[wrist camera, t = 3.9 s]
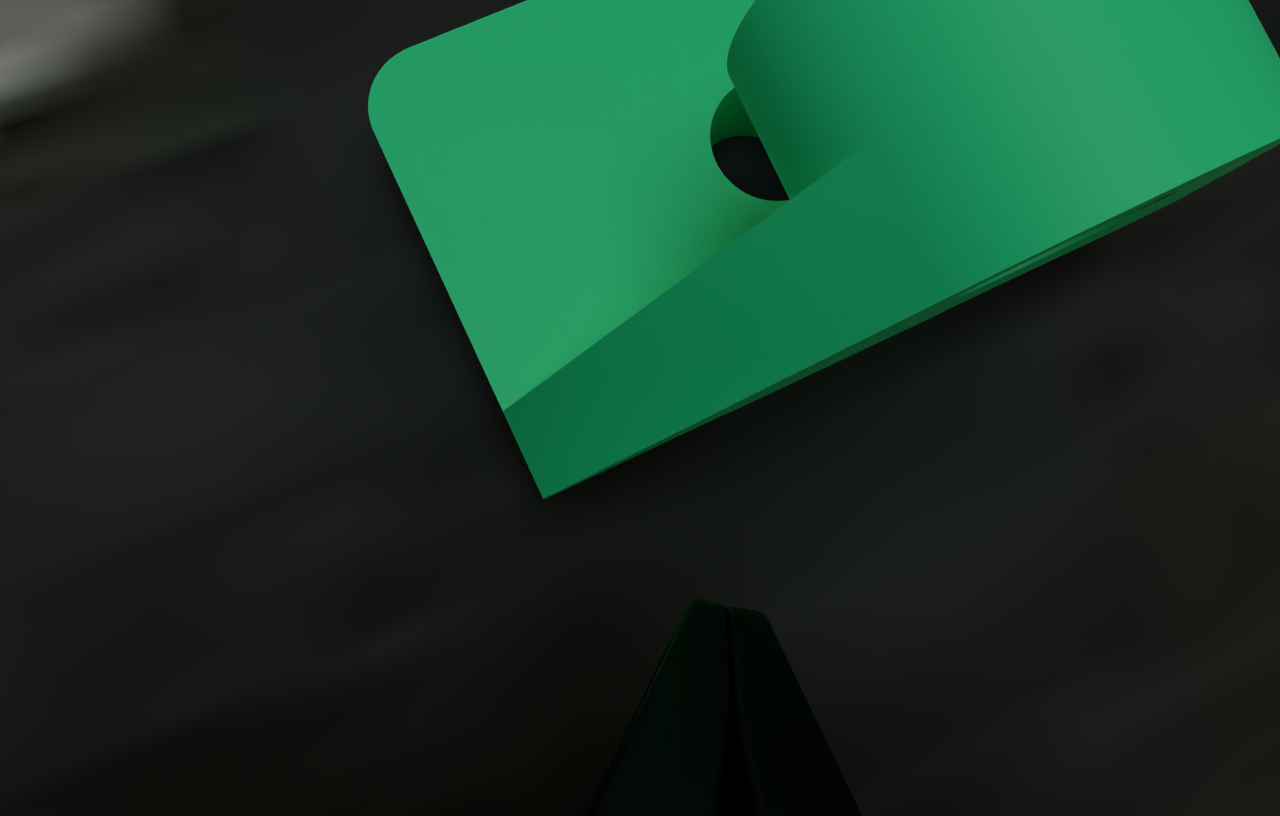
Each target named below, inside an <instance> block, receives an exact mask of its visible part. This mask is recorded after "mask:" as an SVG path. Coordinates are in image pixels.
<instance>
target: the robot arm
mask: <svg viewBox="0 0 1280 816" xmlns="http://www.w3.org/2000/svg"><path fill="white" fill-rule="evenodd" d="M586 816H862V815H861V813H860V811H859V809H858V807H857V804H856V802H855V800H854V798H853V796H852V794H851V792H850V790H849V788H848V786H847V784H846V781H845V779H844V777H843V775H842V773H841V771H840V769H839V767H838V765H837V763H836V761H835V758H834V756H833V754H832V752H831V750H830V748H829V746H828V744H827V742H826V740H825V738H824V736H823V733H822V731H821V729H820V727H819V725H818V723H817V721H816V719H815V717H814V715H813V713H812V710H811V708H810V706H809V704H808V702H807V700H806V698H805V696H804V694H803V692H802V690H801V687H800V685H799V683H798V681H797V679H796V677H795V675H794V673H793V671H792V669H791V667H790V665H789V662H788V660H787V658H786V656H785V654H784V652H783V650H782V648H781V646H780V644H779V642H778V639H777V637H776V635H775V633H774V631H773V629H772V627H771V625H770V623H769V621H768V619H767V617H766V616H765V615H764V614H762V613H760V612H758V611H753V610H748V609H743V608H738V607H729V608H728V609H727V610H726V608H725V607H724V606H723V605H722V604H719V603H714V602H709V601H705V600H700V599H691V600H690V601H689V602H688V604H687V606H686V608H685V610H684V612H683V614H682V616H681V618H680V620H679V622H678V624H677V627H676V629H675V631H674V633H673V635H672V637H671V639H670V641H669V643H668V645H667V647H666V650H665V652H664V654H663V656H662V658H661V660H660V662H659V664H658V666H657V668H656V670H655V673H654V675H653V677H652V679H651V681H650V683H649V685H648V687H647V689H646V691H645V693H644V696H643V698H642V700H641V702H640V704H639V706H638V708H637V710H636V712H635V714H634V716H633V719H632V721H631V723H630V725H629V727H628V729H627V731H626V733H625V735H624V737H623V739H622V742H621V744H620V746H619V748H618V750H617V752H616V754H615V756H614V758H613V760H612V762H611V765H610V767H609V769H608V771H607V773H606V775H605V777H604V779H603V781H602V783H601V785H600V788H599V790H598V792H597V794H596V796H595V798H594V800H593V802H592V804H591V806H590V808H589V811H588V813H587V815H586Z"/></svg>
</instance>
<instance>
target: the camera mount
mask: <svg viewBox="0 0 1280 816" xmlns="http://www.w3.org/2000/svg"><path fill="white" fill-rule="evenodd" d="M368 111H369V118H370V122H371V126H372V128H373V131H374V133H375V135H376V138H377V140H378V142H379V144H380V146H381V148H382V151H383V153H384V155H385V157H386V159H387V161H388V164H389V166H390V168H391V170H392V172H393V174H394V177H395V179H396V181H397V183H398V185H399V187H400V190H401V192H402V194H403V196H404V198H405V200H406V203H407V205H408V207H409V209H410V211H411V213H412V215H413V218H414V220H415V222H416V224H417V226H418V228H419V231H420V233H421V235H422V237H423V239H424V241H425V244H426V246H427V248H428V250H429V252H430V254H431V257H432V259H433V261H434V263H435V265H436V267H437V270H438V272H439V274H440V276H441V278H442V280H443V283H444V285H445V287H446V289H447V291H448V293H449V296H450V298H451V300H452V302H453V304H454V306H455V309H456V311H457V313H458V315H459V317H460V319H461V322H462V324H463V326H464V328H465V330H466V332H467V335H468V337H469V339H470V341H471V343H472V345H473V348H474V350H475V352H476V354H477V356H478V358H479V361H480V363H481V365H482V367H483V369H484V371H485V374H486V376H487V378H488V380H489V382H490V384H491V387H492V389H493V391H494V393H495V395H496V397H497V400H498V402H499V404H500V406H501V408H502V410H503V413H504V415H505V417H506V419H507V421H508V423H509V426H510V428H511V430H512V432H513V434H514V436H515V439H516V441H517V443H518V445H519V447H520V449H521V452H522V454H523V456H524V458H525V460H526V462H527V465H528V467H529V469H530V471H531V473H532V475H533V478H534V480H535V482H536V484H537V486H538V488H539V491H540V493H541V495H542V497H543V499H545V498H548V497H551V496H553V495H555V494H557V493H559V492H561V491H563V490H565V489H568V488H570V487H572V486H574V485H576V484H578V483H580V482H582V481H585V480H587V479H589V478H591V477H593V476H595V475H597V474H599V473H602V472H604V471H606V470H608V469H610V468H612V467H614V466H616V465H619V464H621V463H623V462H625V461H627V460H629V459H631V458H633V457H635V456H638V455H640V454H642V453H644V452H646V451H648V450H650V449H652V448H655V447H657V446H659V445H661V444H663V443H665V442H667V441H669V440H672V439H674V438H676V437H678V436H680V435H682V434H684V433H686V432H689V431H691V430H693V429H695V428H697V427H699V426H701V425H703V424H706V423H708V422H710V421H712V420H714V419H716V418H718V417H720V416H723V415H726V414H728V413H730V412H732V411H734V410H737V409H739V408H741V407H743V406H745V405H747V404H749V403H751V402H754V401H756V400H758V399H760V398H762V397H764V396H766V395H768V394H771V393H773V392H775V391H777V390H779V389H781V388H783V387H785V386H788V385H790V384H792V383H794V382H796V381H798V380H800V379H802V378H805V377H807V376H809V375H811V374H813V373H815V372H817V371H819V370H821V369H824V368H826V367H828V366H830V365H832V364H834V363H836V362H838V361H841V360H843V359H845V358H847V357H849V356H851V355H853V354H855V353H858V352H860V351H862V350H864V349H866V348H868V347H870V346H872V345H875V344H877V343H879V342H881V341H883V340H885V339H887V338H889V337H892V336H894V335H896V334H898V333H900V332H902V331H904V330H906V329H909V328H911V327H913V326H915V325H917V324H919V323H921V322H923V321H926V320H928V319H930V318H932V317H934V316H936V315H938V314H940V313H942V312H944V311H946V310H948V309H950V308H952V307H954V306H956V305H958V304H960V303H962V302H965V301H967V300H969V299H971V298H973V297H975V296H977V295H979V294H982V293H984V292H986V291H988V290H990V289H992V288H994V287H996V286H999V285H1001V284H1003V283H1005V282H1007V281H1009V280H1011V279H1013V278H1016V277H1018V276H1020V275H1022V274H1024V273H1026V272H1028V271H1030V270H1033V269H1035V268H1037V267H1039V266H1041V265H1043V264H1045V263H1047V262H1050V261H1052V260H1054V259H1056V258H1058V257H1060V256H1062V255H1064V254H1067V253H1069V252H1071V251H1073V250H1075V249H1077V248H1079V247H1081V246H1084V245H1086V244H1088V243H1090V242H1092V241H1094V240H1096V239H1098V238H1101V237H1103V236H1105V235H1107V234H1109V233H1111V232H1113V231H1115V230H1118V229H1120V228H1122V227H1124V226H1126V225H1128V224H1130V223H1132V222H1134V221H1136V220H1138V219H1140V218H1142V217H1144V216H1146V215H1148V214H1150V213H1152V212H1154V211H1156V210H1158V209H1161V208H1163V207H1165V206H1167V205H1169V204H1171V203H1173V202H1175V201H1177V200H1179V199H1181V198H1182V197H1184V196H1186V195H1188V194H1190V193H1192V192H1193V191H1195V190H1197V189H1199V188H1201V187H1202V186H1204V185H1206V184H1208V183H1210V182H1211V181H1213V180H1215V179H1217V178H1219V177H1221V176H1222V175H1224V174H1226V173H1228V172H1230V171H1231V170H1233V169H1235V168H1237V167H1239V166H1241V165H1242V164H1244V163H1246V162H1248V161H1250V160H1251V159H1253V158H1255V157H1257V156H1259V155H1260V154H1262V153H1264V152H1266V151H1268V150H1270V149H1271V148H1273V147H1275V146H1277V145H1279V144H1280V58H1279V56H1278V54H1277V53H1276V51H1275V49H1274V47H1273V45H1272V43H1271V41H1270V40H1269V38H1268V36H1267V34H1266V32H1265V30H1264V28H1263V26H1262V25H1261V23H1260V21H1259V19H1258V17H1257V15H1256V13H1255V12H1254V10H1253V8H1252V6H1251V4H1250V2H1249V0H527V1H524V2H522V3H519V4H517V5H514V6H512V7H509V8H507V9H504V10H502V11H499V12H497V13H494V14H492V15H489V16H487V17H484V18H482V19H479V20H477V21H474V22H472V23H469V24H467V25H464V26H462V27H459V28H457V29H454V30H452V31H450V32H447V33H445V34H442V35H440V36H437V37H435V38H432V39H430V40H427V41H425V42H422V43H420V44H417V45H415V46H412V47H410V48H407V49H405V50H403V51H401V52H400V53H398V54H396V55H395V56H394V57H392V58H391V59H390V60H389V61H388V62H387V63H386V64H385V65H384V66H383V67H382V68H381V70H380V71H379V72H378V74H377V76H376V78H375V79H374V82H373V84H372V87H371V90H370V94H369V102H368ZM735 136H753V137H758V138H760V140H761V142H762V144H763V146H764V148H765V150H766V152H767V154H768V156H769V158H770V160H771V162H772V164H773V166H774V168H775V170H776V172H777V174H778V176H779V179H780V181H781V183H782V185H783V187H784V189H785V191H786V193H787V195H788V197H789V199H790V200H786V201H768V200H763V199H759V198H756V197H753V196H750V195H748V194H746V193H744V192H743V191H741V190H739V189H738V188H737V187H735V186H734V185H733V184H732V183H731V182H730V181H729V180H728V179H727V178H726V177H725V176H724V174H723V173H722V172H721V170H720V169H719V167H718V165H717V163H716V161H715V158H714V156H713V152H712V148H711V147H712V146H713V145H714V144H716V143H718V142H719V141H722V140H724V139H727V138H730V137H735Z"/></svg>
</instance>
